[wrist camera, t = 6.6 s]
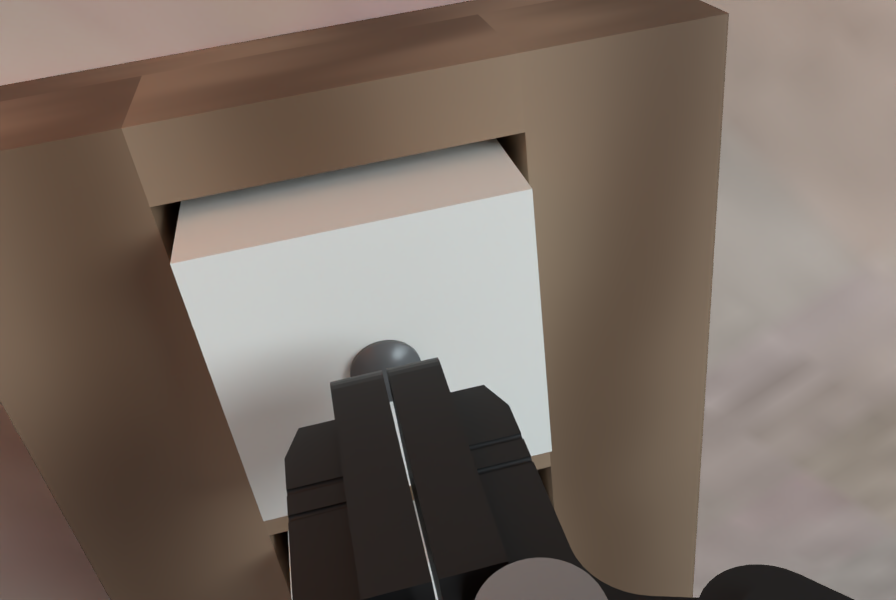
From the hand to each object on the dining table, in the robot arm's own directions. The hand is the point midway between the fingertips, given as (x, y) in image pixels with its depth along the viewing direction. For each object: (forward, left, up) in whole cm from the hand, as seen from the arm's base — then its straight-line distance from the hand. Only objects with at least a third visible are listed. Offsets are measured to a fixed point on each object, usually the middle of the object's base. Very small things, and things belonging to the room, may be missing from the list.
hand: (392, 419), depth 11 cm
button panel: (0, +7, -6) cm, 9 cm away
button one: (0, 0, -4) cm, 4 cm away
